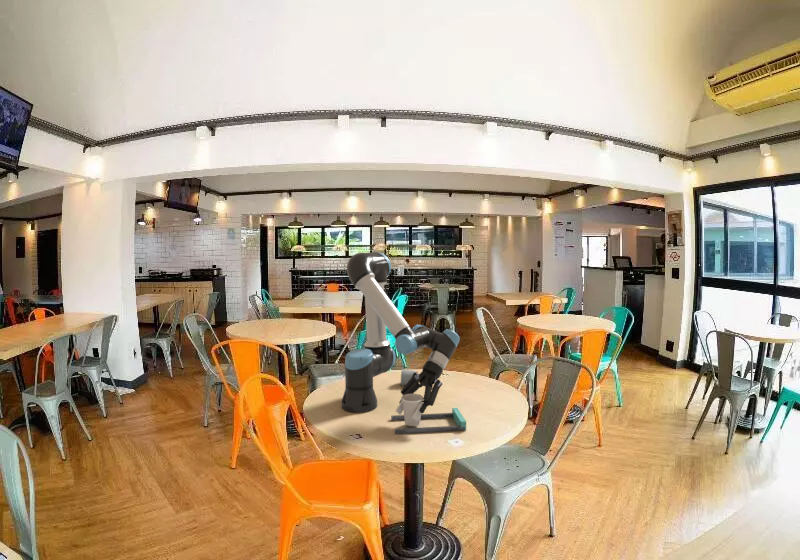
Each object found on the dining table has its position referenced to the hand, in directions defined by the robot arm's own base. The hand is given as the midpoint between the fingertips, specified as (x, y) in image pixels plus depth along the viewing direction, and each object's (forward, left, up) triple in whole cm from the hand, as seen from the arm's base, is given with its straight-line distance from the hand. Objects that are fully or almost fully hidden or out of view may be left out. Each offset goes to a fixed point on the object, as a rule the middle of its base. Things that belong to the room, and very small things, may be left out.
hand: (406, 416), depth 163 cm
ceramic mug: (-14, +49, -5) cm, 51 cm away
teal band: (+18, +11, -5) cm, 22 cm away
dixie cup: (+2, +3, -4) cm, 5 cm away
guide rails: (+6, +6, -5) cm, 10 cm away
